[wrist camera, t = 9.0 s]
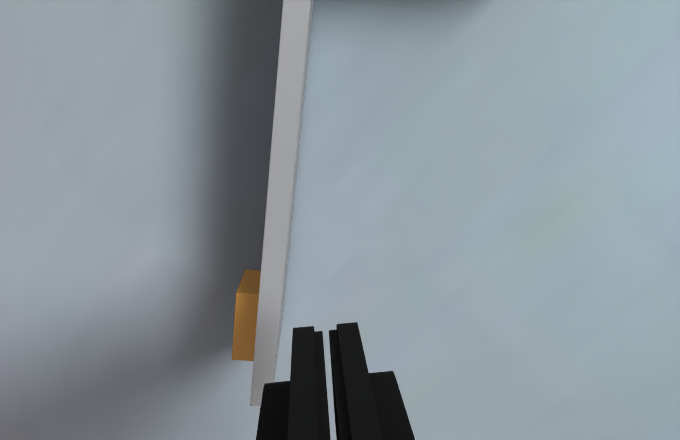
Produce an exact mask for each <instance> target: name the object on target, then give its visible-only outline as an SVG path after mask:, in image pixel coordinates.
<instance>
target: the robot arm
mask: <svg viewBox="0 0 680 440" xmlns="http://www.w3.org/2000/svg"><path fill="white" fill-rule="evenodd" d="M329 339H330V354H331V368H332V382H333V397H334V411H335V424H336V436H337V440H415V438H414V435H413V432H412V429H411V425H410V422H409V419H408V416H407V413H406V409H405V406H404V403H403V400H402V397H401V394H400V390H399V387H398V384H397V381H396V378H395V375H394V372H393V371H388V372H377V373H368V369H367V364H366V360H365V355H364V351H363V346H362V342H361V337H360V333H359V328H358V324H357V322H355V323H344V324H337V330H329ZM256 440H330V427H329V414H328V400H327V387H326V374H325V360H324V347H323V334H322V331H318V332H314V326H310V327H299V328H293V337H292V357H291V376H290V381H284V382H274V383H265V384H264V387H263V393H262V401H261V408H260V415H259V422H258V429H257V436H256Z"/></svg>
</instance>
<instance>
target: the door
mask: <svg viewBox="0 0 680 440" xmlns="http://www.w3.org/2000/svg"><path fill="white" fill-rule="evenodd" d="M313 7H314V0H283V10H282V22H281V34H280V46H279V59H278V71H277V83H276V95H275V107H274V119H273V131H272V144H271V156H270V168H269V180H268V192H267V204H266V217H265V229H264V241H263V253H262V265H261V271H260V270H249V269H246V270H245V272H244V275H243V277H242V280H241V282H240V285H239V287H238V290H237V292H236V304H235V319H234V334H233V349H232V360H245V361H254V362H253V374H252V387H251V399H250V405H252V406H261V401H262V393H263V387H264V384H265V383H274V379H275V372H276V365H277V357H278V350H279V343H280V335H281V327H282V317H283V307H284V297H285V287H286V277H287V267H288V257H289V247H290V237H291V227H292V217H293V207H294V197H295V187H296V177H297V167H298V157H299V147H300V137H301V127H302V117H303V107H304V97H305V87H306V77H307V67H308V57H309V47H310V37H311V27H312V17H313Z"/></svg>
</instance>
